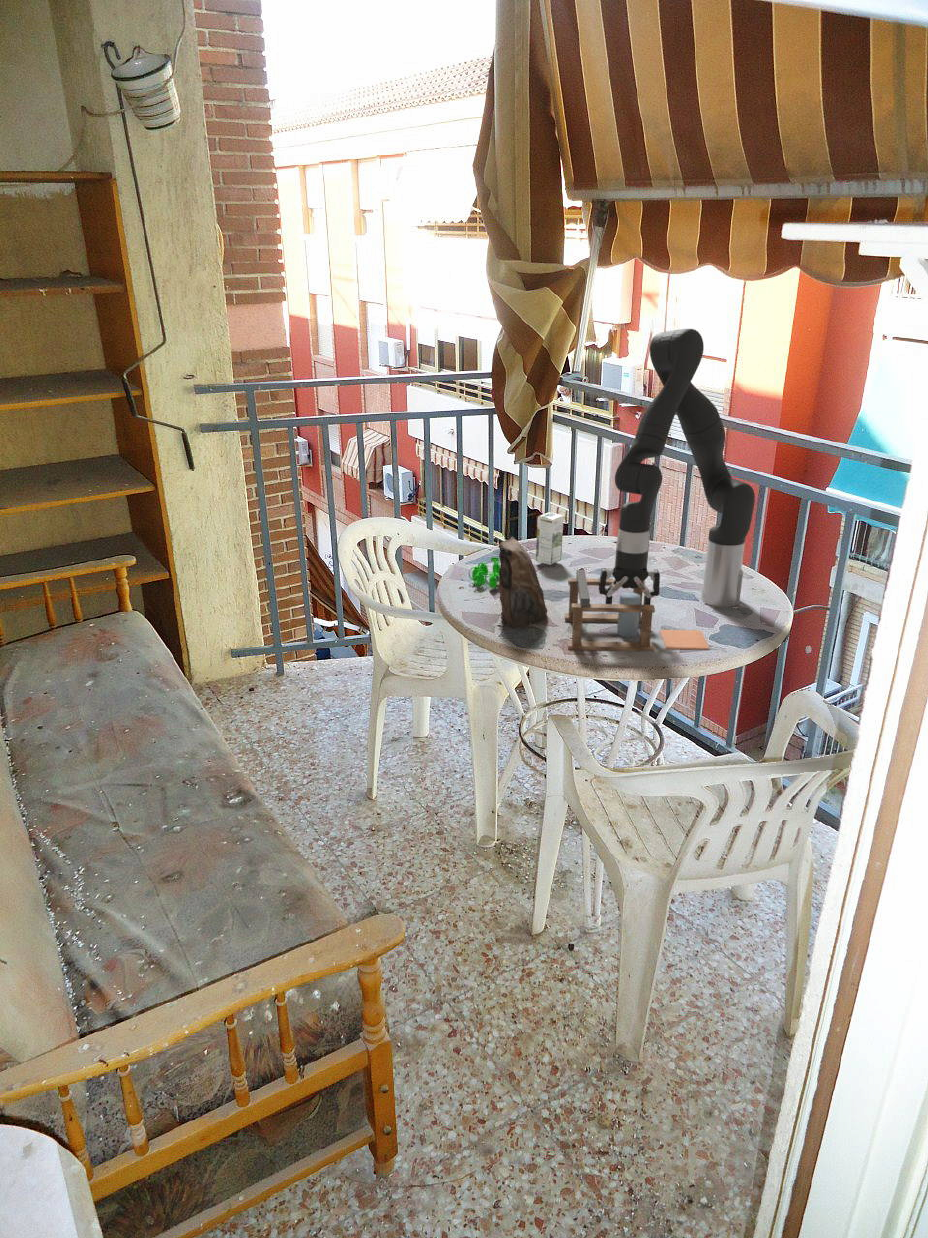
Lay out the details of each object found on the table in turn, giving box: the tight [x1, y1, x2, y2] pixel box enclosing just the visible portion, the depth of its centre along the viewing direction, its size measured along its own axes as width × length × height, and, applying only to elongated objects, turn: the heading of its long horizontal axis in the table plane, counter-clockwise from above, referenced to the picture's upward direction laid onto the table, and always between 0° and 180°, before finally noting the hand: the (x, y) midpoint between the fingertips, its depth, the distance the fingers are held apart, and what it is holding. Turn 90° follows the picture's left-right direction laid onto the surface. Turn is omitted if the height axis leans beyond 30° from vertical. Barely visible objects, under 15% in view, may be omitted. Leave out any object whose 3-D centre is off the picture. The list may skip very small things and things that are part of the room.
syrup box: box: [535, 512, 565, 566], centre depth 257 cm, size 6×6×14 cm
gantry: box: [564, 577, 656, 651], centre depth 208 cm, size 20×20×11 cm
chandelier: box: [468, 557, 501, 590], centre depth 243 cm, size 15×15×7 cm
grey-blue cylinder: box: [616, 592, 641, 638], centre depth 208 cm, size 5×5×10 cm
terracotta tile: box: [659, 629, 710, 650], centre depth 205 cm, size 10×10×1 cm
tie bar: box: [575, 569, 591, 607], centre depth 206 cm, size 2×19×2 cm, turn 176°
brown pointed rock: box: [496, 536, 549, 629], centre depth 216 cm, size 13×13×20 cm
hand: (627, 610), depth 207 cm, fingers open, 8 cm apart
